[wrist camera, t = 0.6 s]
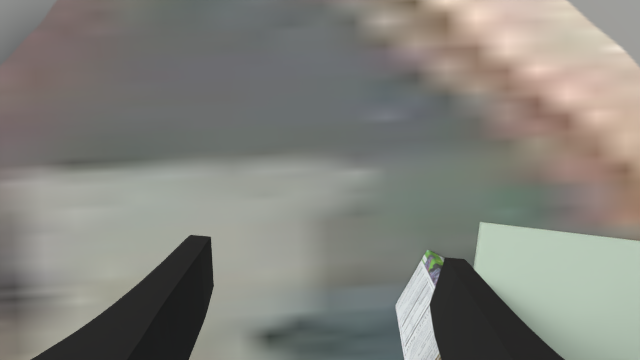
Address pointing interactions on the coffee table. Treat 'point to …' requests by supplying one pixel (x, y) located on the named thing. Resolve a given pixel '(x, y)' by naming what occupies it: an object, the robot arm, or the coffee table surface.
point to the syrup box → (419, 311)
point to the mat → (567, 287)
